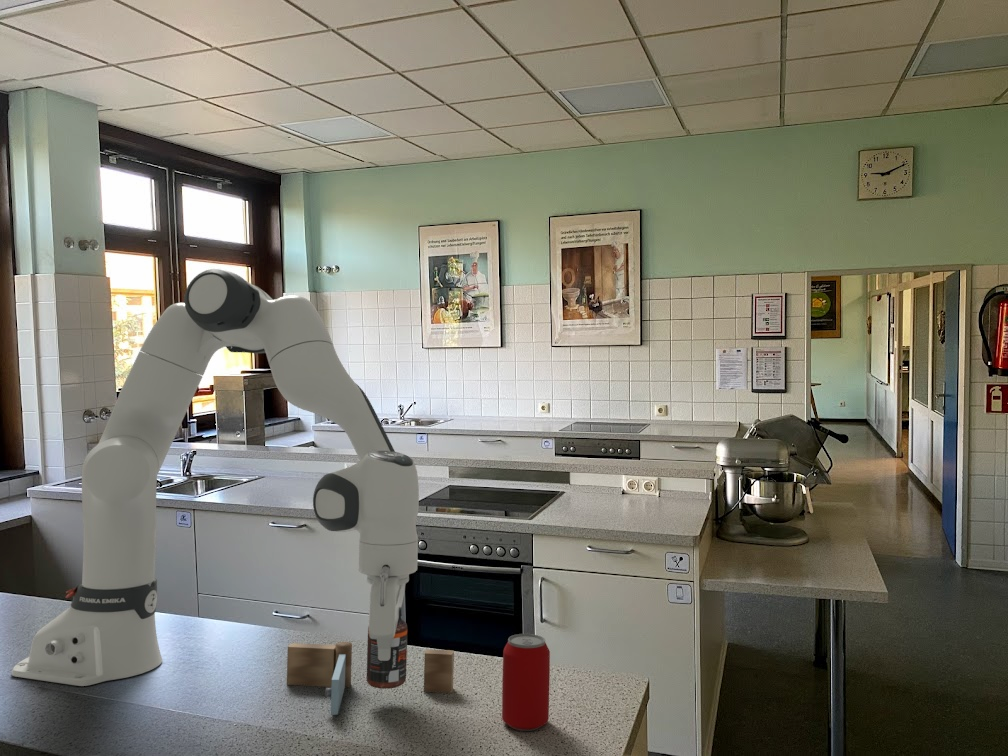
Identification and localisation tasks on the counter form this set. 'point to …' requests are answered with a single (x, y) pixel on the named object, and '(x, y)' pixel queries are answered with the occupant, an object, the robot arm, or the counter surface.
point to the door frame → (320, 662)
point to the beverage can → (525, 682)
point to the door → (337, 685)
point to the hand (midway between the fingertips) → (386, 650)
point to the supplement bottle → (395, 667)
